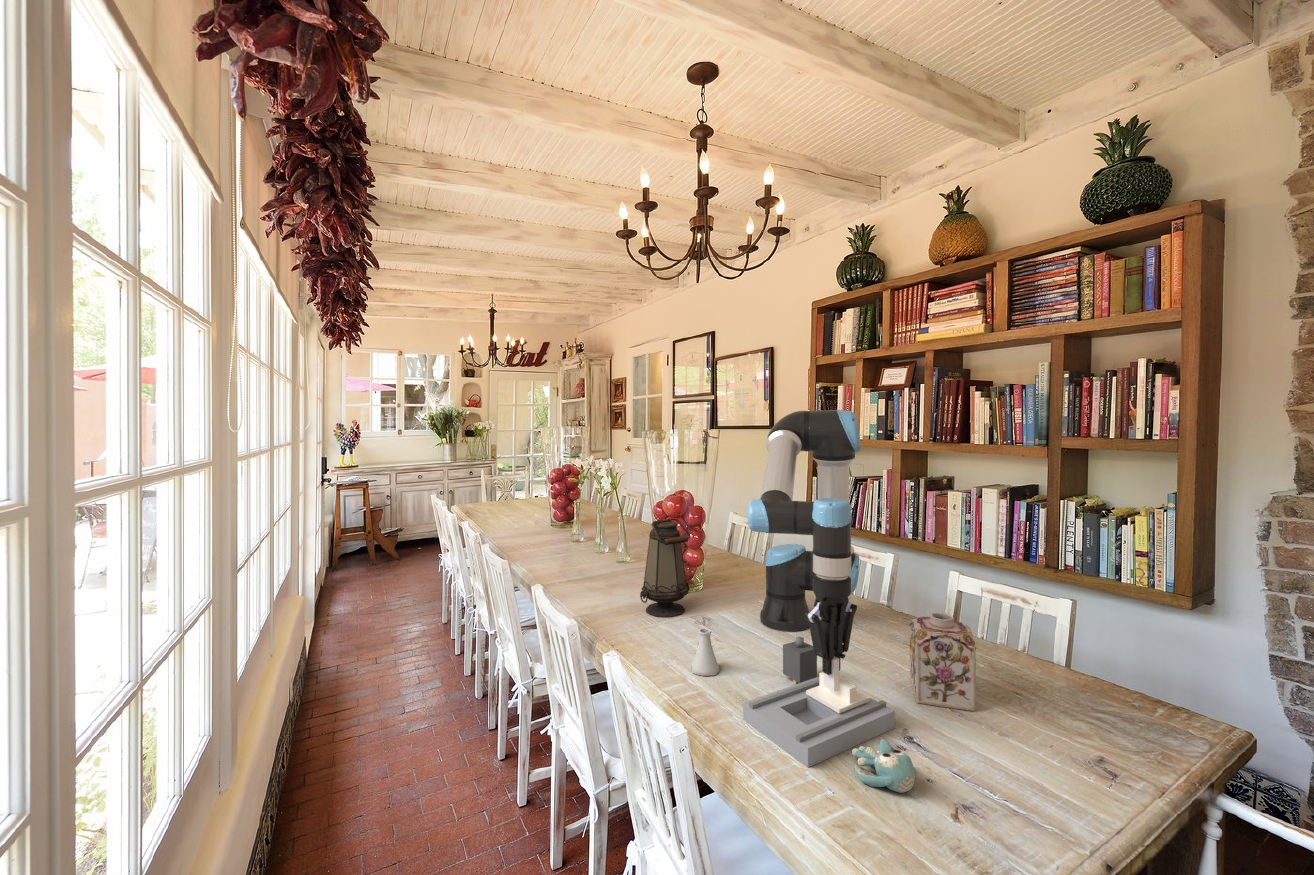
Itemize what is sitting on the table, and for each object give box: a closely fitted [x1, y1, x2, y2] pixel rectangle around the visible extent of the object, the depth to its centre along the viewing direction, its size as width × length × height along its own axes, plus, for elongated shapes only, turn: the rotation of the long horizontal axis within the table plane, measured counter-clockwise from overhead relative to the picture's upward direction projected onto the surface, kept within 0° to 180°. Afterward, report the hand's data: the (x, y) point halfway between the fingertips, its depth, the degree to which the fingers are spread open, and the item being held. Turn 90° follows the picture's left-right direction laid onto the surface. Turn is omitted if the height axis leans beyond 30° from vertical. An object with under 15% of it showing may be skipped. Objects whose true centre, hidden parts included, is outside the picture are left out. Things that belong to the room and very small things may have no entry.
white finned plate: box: [806, 671, 871, 713], centre depth 112 cm, size 9×9×4 cm
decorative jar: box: [909, 611, 977, 712], centre depth 120 cm, size 12×12×18 cm
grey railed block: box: [742, 676, 896, 768], centre depth 109 cm, size 24×18×4 cm
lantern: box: [639, 517, 691, 619], centre depth 175 cm, size 18×15×30 cm
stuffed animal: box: [851, 738, 916, 794], centre depth 93 cm, size 11×7×12 cm
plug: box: [782, 636, 818, 684], centre depth 127 cm, size 6×6×10 cm
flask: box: [690, 627, 721, 677], centre depth 133 cm, size 7×7×10 cm
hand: (831, 687), depth 111 cm, fingers closed
